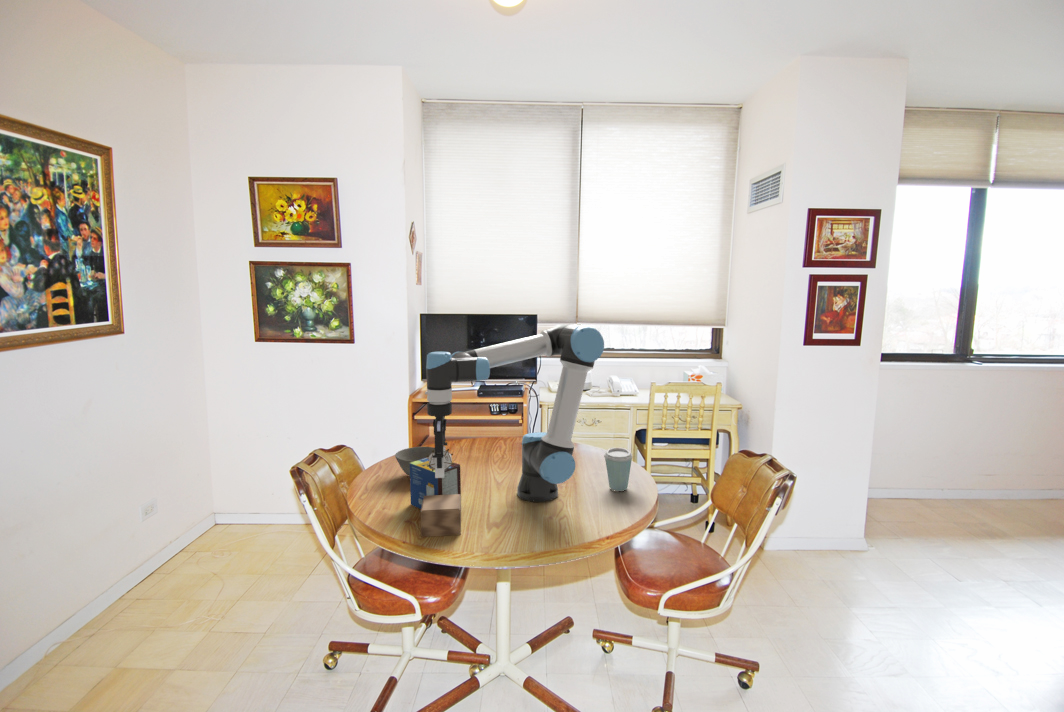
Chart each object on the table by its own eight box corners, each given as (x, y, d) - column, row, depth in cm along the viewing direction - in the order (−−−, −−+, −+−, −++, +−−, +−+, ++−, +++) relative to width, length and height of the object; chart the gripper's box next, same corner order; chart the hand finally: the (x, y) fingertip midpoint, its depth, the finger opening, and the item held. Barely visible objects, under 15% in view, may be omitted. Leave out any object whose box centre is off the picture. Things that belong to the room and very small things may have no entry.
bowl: (417, 489, 188) (416, 464, 187) (386, 478, 200) (385, 454, 198) (453, 475, 203) (452, 451, 202) (422, 465, 214) (422, 443, 213)
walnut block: (461, 517, 165) (460, 493, 164) (460, 534, 153) (460, 509, 152) (424, 519, 164) (423, 495, 163) (421, 536, 152) (420, 511, 151)
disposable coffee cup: (633, 495, 184) (635, 455, 182) (604, 494, 184) (605, 455, 183) (629, 484, 194) (630, 447, 193) (602, 483, 195) (603, 446, 193)
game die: (437, 481, 158) (436, 451, 163) (460, 475, 155) (458, 444, 160) (421, 476, 151) (420, 444, 156) (444, 469, 148) (442, 437, 153)
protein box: (433, 495, 183) (432, 455, 181) (461, 507, 173) (461, 464, 171) (409, 505, 175) (408, 462, 173) (438, 517, 165) (437, 472, 163)
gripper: (429, 394, 164) (431, 460, 167) (424, 410, 142) (425, 485, 145) (452, 394, 165) (453, 459, 168) (450, 409, 143) (451, 484, 146)
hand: (440, 471), depth 156 cm, fingers closed on game die, 9 cm apart
